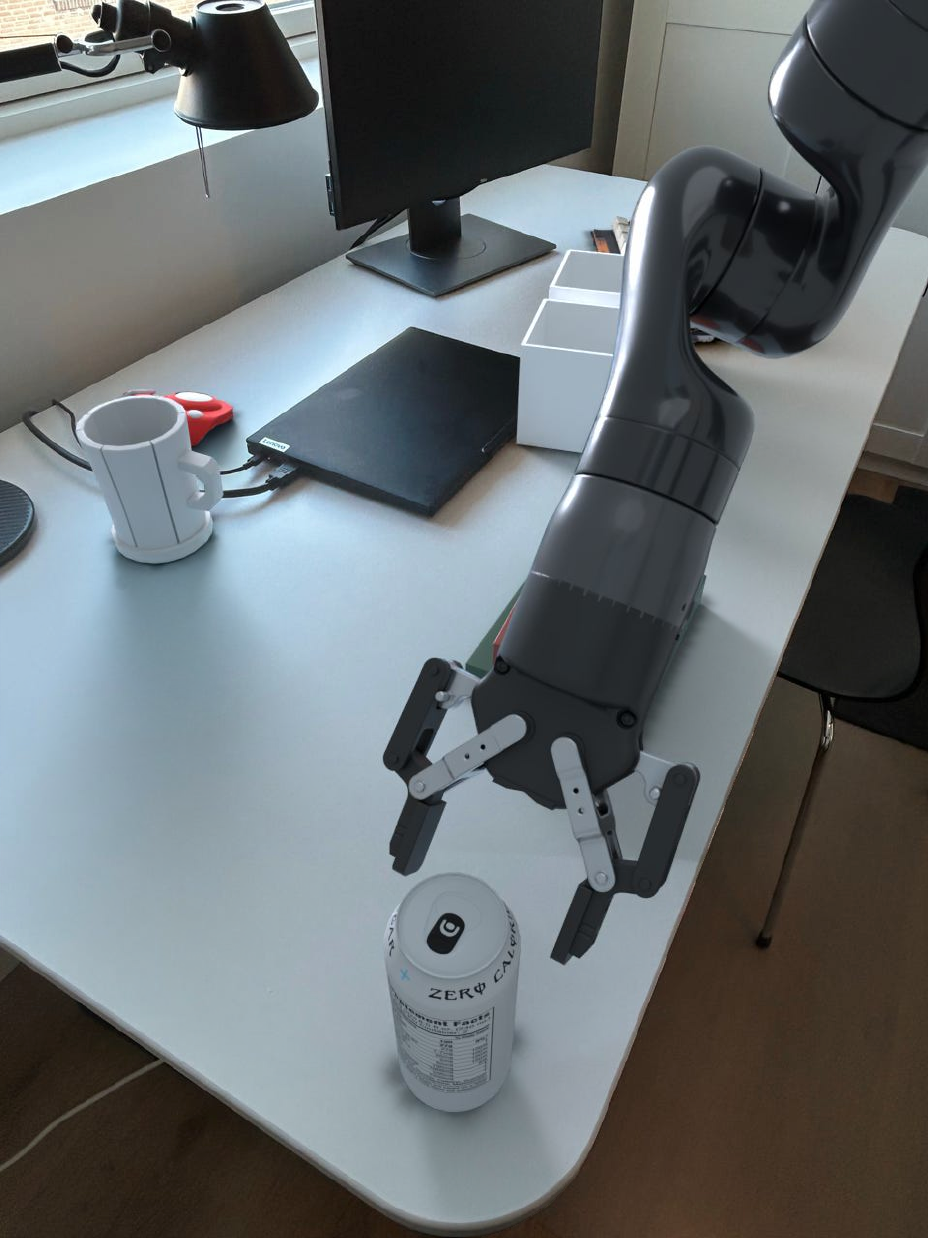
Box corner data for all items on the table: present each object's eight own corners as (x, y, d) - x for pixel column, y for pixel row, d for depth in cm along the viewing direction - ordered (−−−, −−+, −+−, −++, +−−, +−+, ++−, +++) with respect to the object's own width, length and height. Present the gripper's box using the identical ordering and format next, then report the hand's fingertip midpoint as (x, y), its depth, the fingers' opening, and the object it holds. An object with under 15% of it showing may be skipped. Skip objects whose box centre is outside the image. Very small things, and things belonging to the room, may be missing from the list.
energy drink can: (529, 1035, 48) (546, 898, 38) (477, 1142, 45) (479, 1021, 34) (435, 982, 51) (427, 838, 40) (378, 1080, 47) (352, 948, 36)
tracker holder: (231, 387, 98) (237, 411, 90) (229, 426, 100) (235, 453, 92) (114, 377, 94) (109, 401, 86) (115, 417, 96) (110, 445, 88)
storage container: (561, 338, 110) (568, 249, 102) (649, 349, 107) (663, 258, 100) (516, 443, 92) (520, 344, 84) (621, 458, 90) (635, 358, 82)
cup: (225, 496, 85) (199, 383, 77) (239, 552, 79) (212, 436, 71) (112, 517, 83) (73, 403, 75) (118, 577, 77) (76, 460, 68)
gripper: (446, 530, 40) (319, 857, 41) (753, 643, 35) (601, 1017, 35) (499, 556, 47) (390, 835, 48) (762, 654, 42) (635, 967, 42)
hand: (480, 913), depth 42 cm, fingers open, 8 cm apart
